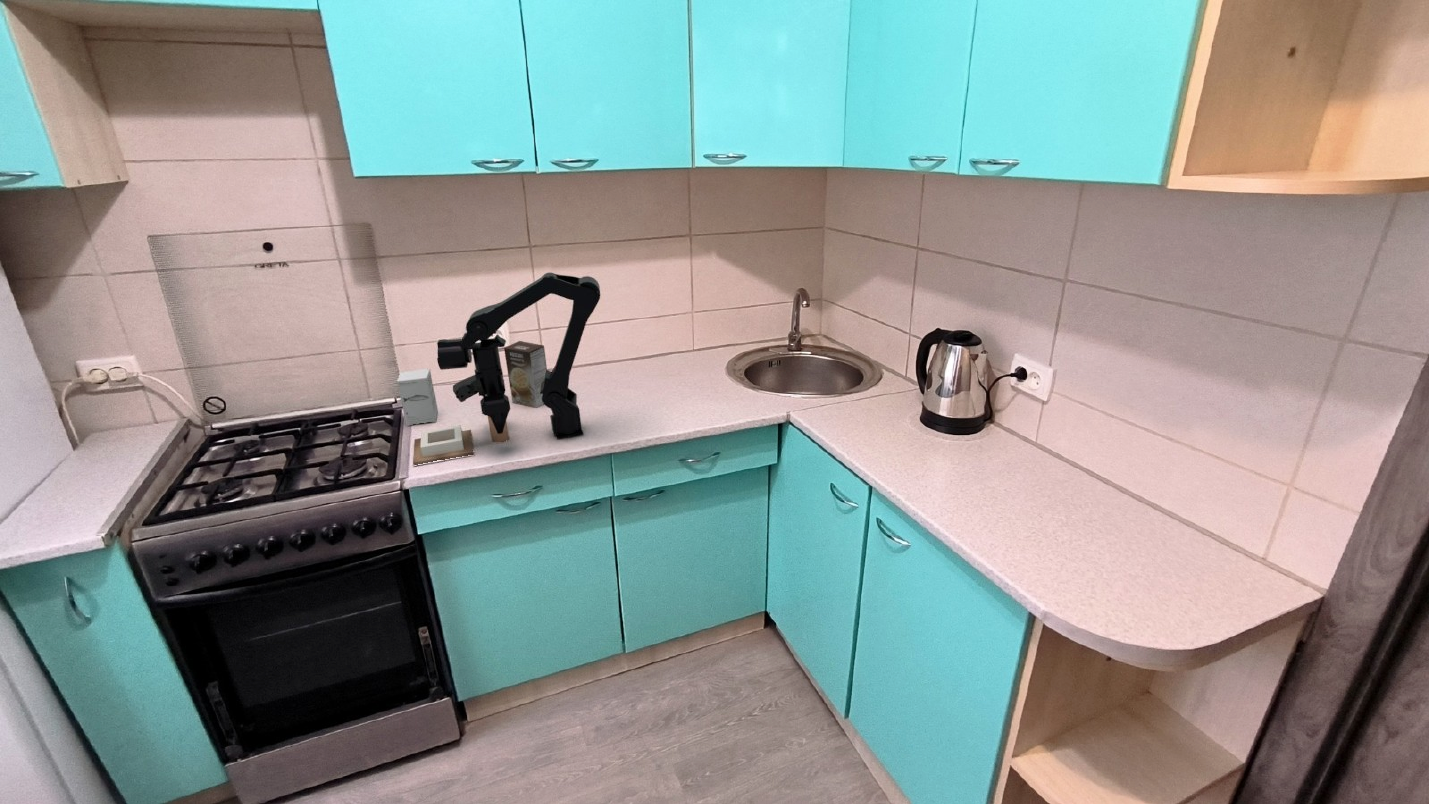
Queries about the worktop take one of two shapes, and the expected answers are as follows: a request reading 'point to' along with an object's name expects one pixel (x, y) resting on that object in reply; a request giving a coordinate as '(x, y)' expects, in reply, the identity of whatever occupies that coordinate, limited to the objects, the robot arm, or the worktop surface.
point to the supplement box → (417, 396)
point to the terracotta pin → (495, 435)
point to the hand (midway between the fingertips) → (498, 425)
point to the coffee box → (526, 372)
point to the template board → (442, 445)
